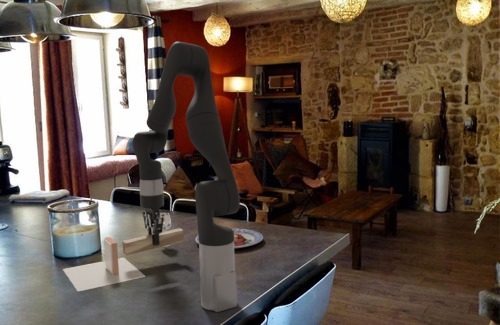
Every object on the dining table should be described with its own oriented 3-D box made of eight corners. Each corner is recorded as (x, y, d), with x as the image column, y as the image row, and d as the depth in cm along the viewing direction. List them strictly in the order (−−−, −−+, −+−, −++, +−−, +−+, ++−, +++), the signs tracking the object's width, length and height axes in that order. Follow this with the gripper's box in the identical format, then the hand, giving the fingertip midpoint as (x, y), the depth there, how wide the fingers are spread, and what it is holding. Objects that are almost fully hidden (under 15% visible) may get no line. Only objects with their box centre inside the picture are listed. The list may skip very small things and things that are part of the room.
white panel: (146, 279, 145) (145, 276, 145) (78, 294, 134) (77, 291, 134) (123, 260, 163) (123, 257, 163) (62, 272, 153) (62, 269, 153)
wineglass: (157, 248, 176) (155, 216, 174) (156, 243, 181) (154, 213, 180) (172, 246, 177) (171, 215, 176) (171, 242, 183) (170, 211, 181)
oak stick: (184, 241, 161) (183, 230, 160) (126, 255, 151) (125, 243, 150) (180, 239, 163) (179, 228, 163) (123, 252, 153) (122, 240, 153)
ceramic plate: (182, 248, 176) (181, 240, 176) (218, 230, 199) (218, 223, 199) (242, 257, 164) (242, 249, 164) (274, 237, 187) (274, 230, 187)
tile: (118, 274, 147) (117, 242, 146) (112, 275, 146) (110, 243, 145) (111, 266, 154) (109, 236, 153) (105, 267, 153) (103, 237, 152)
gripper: (170, 194, 151) (173, 247, 153) (154, 187, 162) (157, 236, 165) (148, 197, 147) (150, 251, 149) (133, 190, 159) (136, 240, 161)
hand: (154, 243), depth 157 cm, fingers closed on oak stick, 3 cm apart
